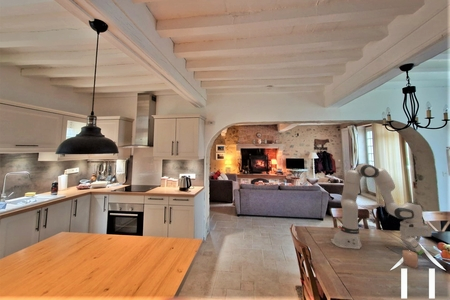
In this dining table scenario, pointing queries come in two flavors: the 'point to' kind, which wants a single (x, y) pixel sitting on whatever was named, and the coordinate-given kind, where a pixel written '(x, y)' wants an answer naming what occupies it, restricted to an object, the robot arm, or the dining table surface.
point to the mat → (399, 251)
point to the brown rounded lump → (410, 258)
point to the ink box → (412, 244)
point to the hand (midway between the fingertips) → (416, 241)
